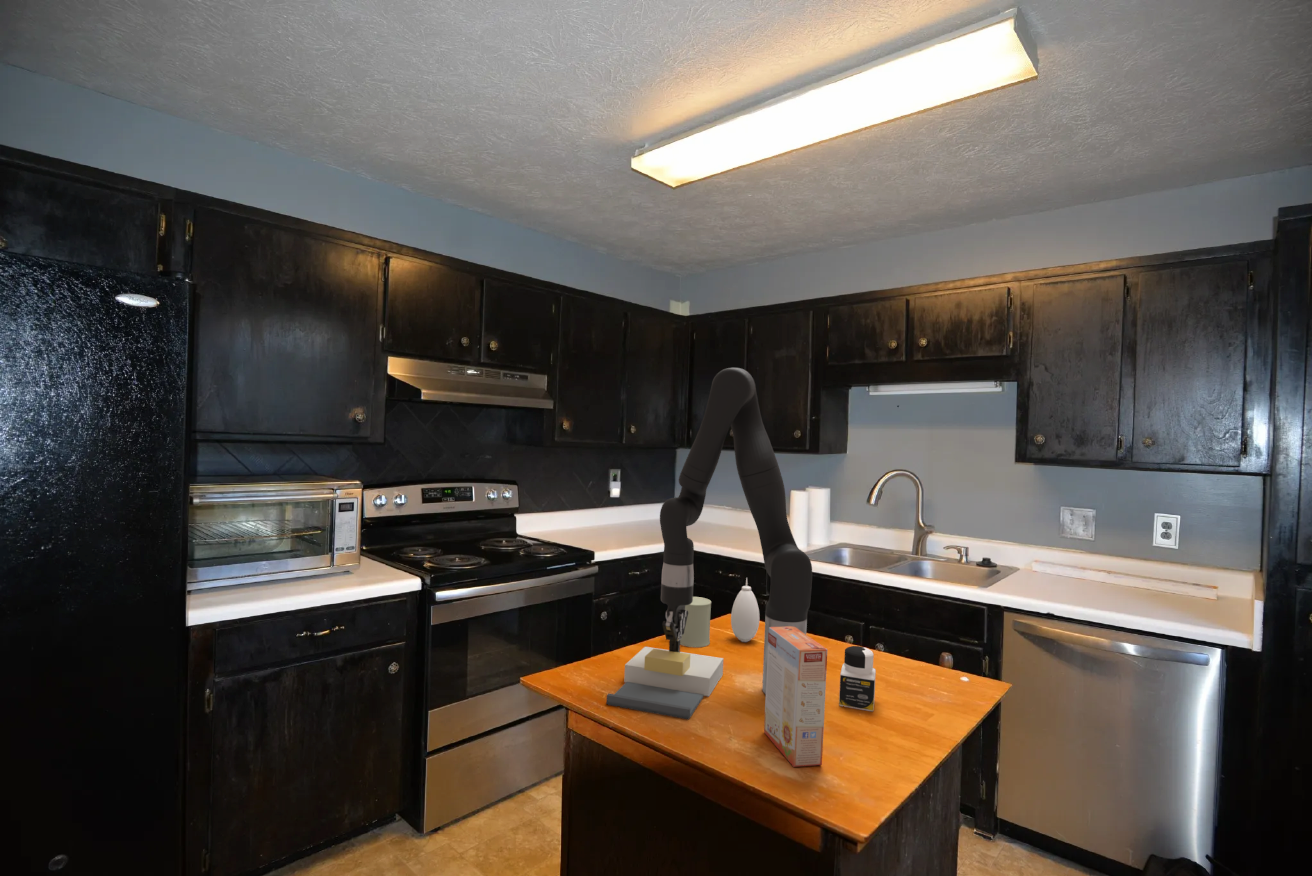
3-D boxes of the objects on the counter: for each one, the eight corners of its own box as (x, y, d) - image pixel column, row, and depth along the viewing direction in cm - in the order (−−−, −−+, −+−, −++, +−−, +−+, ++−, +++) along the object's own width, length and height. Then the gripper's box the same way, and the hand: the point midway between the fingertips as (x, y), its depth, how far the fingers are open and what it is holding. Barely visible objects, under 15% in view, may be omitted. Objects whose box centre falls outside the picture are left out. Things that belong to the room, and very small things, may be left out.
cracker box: (824, 766, 115) (829, 648, 114) (792, 769, 113) (797, 649, 113) (791, 730, 128) (796, 624, 128) (762, 732, 127) (767, 625, 127)
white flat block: (722, 674, 157) (723, 658, 157) (708, 696, 143) (709, 678, 143) (644, 662, 163) (645, 646, 163) (624, 682, 150) (624, 664, 150)
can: (678, 635, 186) (680, 593, 186) (710, 638, 185) (712, 596, 184) (674, 645, 177) (676, 601, 177) (708, 648, 175) (710, 604, 175)
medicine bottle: (838, 706, 141) (841, 651, 141) (841, 694, 148) (843, 641, 148) (873, 712, 138) (875, 656, 138) (874, 699, 145) (876, 646, 145)
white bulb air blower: (751, 647, 178) (754, 581, 178) (725, 641, 182) (728, 577, 182) (762, 640, 185) (765, 577, 184) (737, 635, 188) (739, 573, 188)
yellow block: (689, 667, 150) (690, 654, 150) (682, 676, 144) (682, 662, 144) (653, 661, 153) (653, 648, 153) (644, 669, 147) (644, 656, 147)
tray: (703, 697, 143) (703, 688, 143) (688, 719, 131) (689, 709, 131) (626, 684, 148) (627, 675, 148) (606, 704, 137) (606, 695, 137)
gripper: (684, 590, 145) (681, 667, 145) (700, 578, 157) (697, 649, 158) (652, 586, 147) (649, 662, 148) (670, 574, 160) (667, 645, 160)
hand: (674, 655), depth 153 cm, fingers closed
